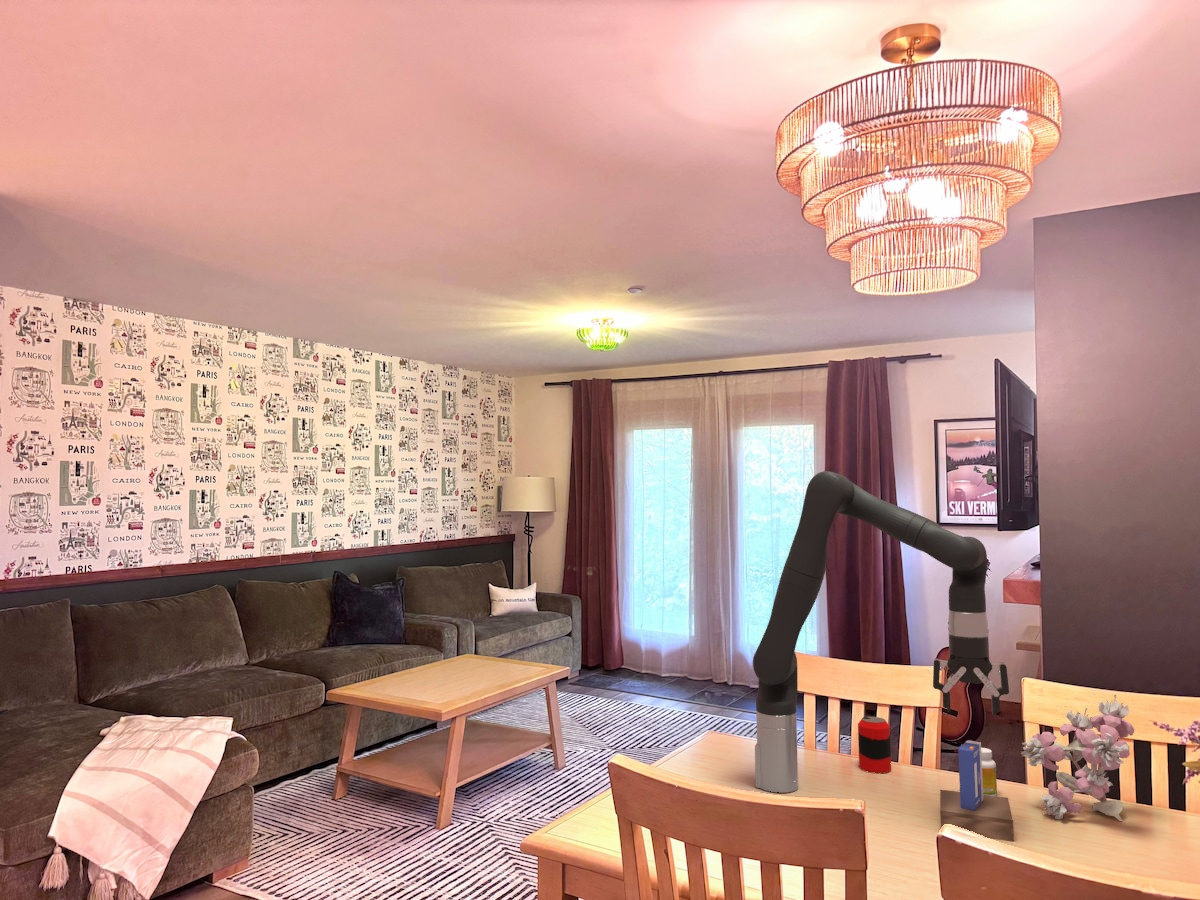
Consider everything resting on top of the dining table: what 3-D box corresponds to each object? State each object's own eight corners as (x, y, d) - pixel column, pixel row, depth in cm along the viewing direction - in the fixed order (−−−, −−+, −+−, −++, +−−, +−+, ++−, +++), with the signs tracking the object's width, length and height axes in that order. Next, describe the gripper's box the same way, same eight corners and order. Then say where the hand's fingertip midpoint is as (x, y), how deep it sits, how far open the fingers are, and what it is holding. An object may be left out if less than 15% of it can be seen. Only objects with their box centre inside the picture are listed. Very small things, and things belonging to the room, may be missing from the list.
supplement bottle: (1000, 798, 177) (998, 754, 178) (974, 797, 178) (972, 752, 179) (993, 790, 182) (991, 746, 183) (968, 788, 183) (966, 745, 184)
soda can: (868, 762, 203) (866, 714, 204) (896, 768, 198) (895, 719, 198) (853, 768, 198) (852, 719, 199) (882, 776, 192) (880, 725, 193)
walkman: (975, 810, 159) (972, 749, 160) (960, 807, 161) (958, 747, 162) (984, 799, 165) (981, 740, 166) (969, 796, 167) (967, 738, 168)
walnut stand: (941, 831, 159) (940, 810, 159) (940, 808, 171) (940, 789, 171) (1013, 841, 154) (1013, 820, 154) (1008, 817, 166) (1007, 797, 166)
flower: (1017, 778, 185) (1007, 690, 178) (1129, 779, 177) (1124, 687, 170) (1035, 848, 168) (1024, 753, 160) (1160, 853, 160) (1155, 753, 152)
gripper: (1005, 632, 166) (1008, 711, 165) (931, 628, 172) (933, 705, 170) (1007, 637, 159) (1011, 720, 158) (931, 633, 165) (933, 713, 164)
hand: (971, 712), depth 164 cm, fingers open, 8 cm apart
